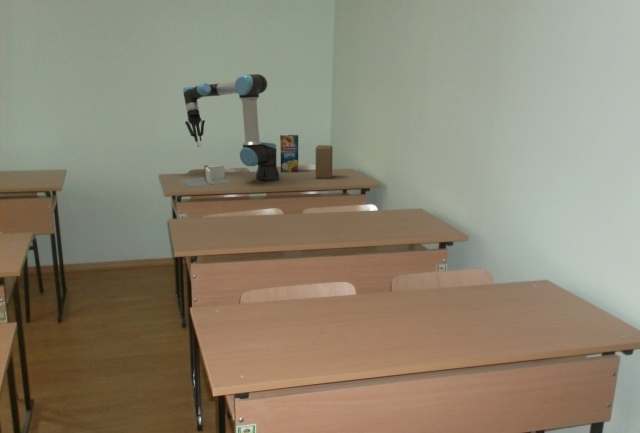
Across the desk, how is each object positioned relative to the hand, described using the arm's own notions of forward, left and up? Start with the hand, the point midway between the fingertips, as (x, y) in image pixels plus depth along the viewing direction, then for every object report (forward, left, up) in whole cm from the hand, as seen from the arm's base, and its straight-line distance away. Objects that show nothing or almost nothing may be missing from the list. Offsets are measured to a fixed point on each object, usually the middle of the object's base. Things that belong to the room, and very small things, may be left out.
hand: (199, 146), depth 394 cm
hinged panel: (+1, +19, -19) cm, 27 cm away
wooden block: (-71, +33, -20) cm, 81 cm away
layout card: (+2, +15, -20) cm, 25 cm away
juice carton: (-60, +4, -20) cm, 64 cm away
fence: (-6, +11, -19) cm, 23 cm away
